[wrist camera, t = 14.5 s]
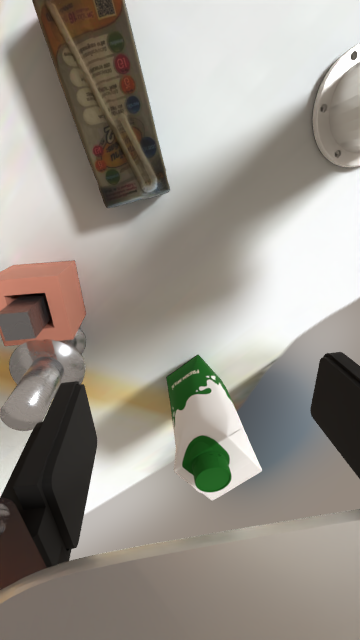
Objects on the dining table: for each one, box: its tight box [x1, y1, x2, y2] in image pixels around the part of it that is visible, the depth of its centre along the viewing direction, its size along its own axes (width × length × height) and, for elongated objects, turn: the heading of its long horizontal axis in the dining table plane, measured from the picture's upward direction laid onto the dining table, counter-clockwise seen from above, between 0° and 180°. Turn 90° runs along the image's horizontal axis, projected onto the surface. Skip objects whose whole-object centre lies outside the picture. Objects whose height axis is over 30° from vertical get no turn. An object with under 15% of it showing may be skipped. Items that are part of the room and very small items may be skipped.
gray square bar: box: [0, 293, 52, 341], centre depth 33 cm, size 3×3×12 cm
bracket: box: [0, 261, 86, 362], centre depth 35 cm, size 8×11×8 cm
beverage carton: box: [32, 0, 170, 208], centre depth 28 cm, size 8×19×7 cm, turn 15°
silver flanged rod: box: [0, 328, 86, 431], centre depth 34 cm, size 9×9×16 cm
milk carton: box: [166, 355, 262, 500], centre depth 39 cm, size 9×9×20 cm
